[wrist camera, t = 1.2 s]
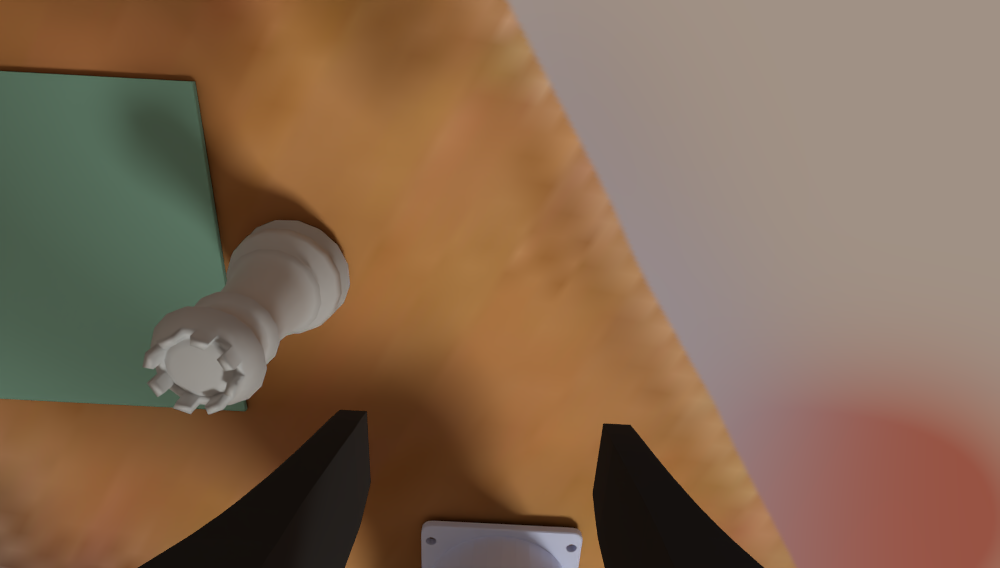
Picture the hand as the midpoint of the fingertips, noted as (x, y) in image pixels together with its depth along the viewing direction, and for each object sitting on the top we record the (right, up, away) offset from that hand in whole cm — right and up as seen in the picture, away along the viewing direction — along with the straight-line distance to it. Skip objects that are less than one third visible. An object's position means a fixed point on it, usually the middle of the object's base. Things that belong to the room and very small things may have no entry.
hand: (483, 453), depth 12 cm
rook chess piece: (-8, +4, +10) cm, 13 cm away
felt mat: (-17, +5, +10) cm, 20 cm away
